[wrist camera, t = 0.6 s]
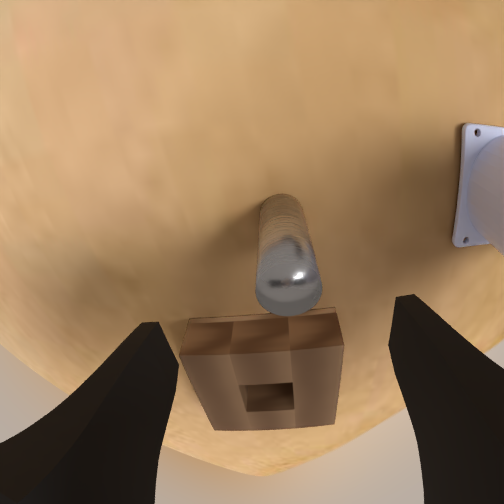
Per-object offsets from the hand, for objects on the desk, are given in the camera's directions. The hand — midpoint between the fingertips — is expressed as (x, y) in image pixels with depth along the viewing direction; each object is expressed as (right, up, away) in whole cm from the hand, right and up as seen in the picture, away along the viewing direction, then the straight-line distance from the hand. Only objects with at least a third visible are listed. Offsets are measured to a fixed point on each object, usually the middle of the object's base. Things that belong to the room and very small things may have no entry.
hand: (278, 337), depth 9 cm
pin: (+1, +5, +8) cm, 9 cm away
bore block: (+1, -6, +14) cm, 15 cm away
